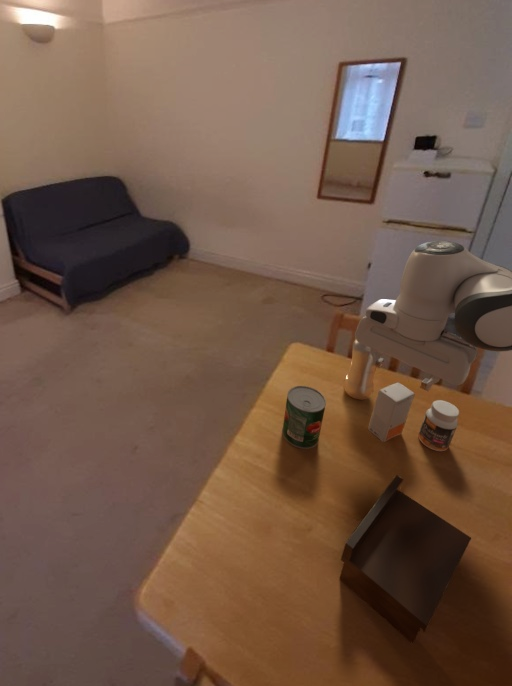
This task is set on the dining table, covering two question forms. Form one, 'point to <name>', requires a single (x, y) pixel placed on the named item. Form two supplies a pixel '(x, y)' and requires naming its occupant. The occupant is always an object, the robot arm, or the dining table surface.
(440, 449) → the pill bottle
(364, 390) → the plastic bottle
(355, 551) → the dark brown plinth
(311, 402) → the canned tomato
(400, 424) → the cosmetic box
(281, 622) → the dining table surface
